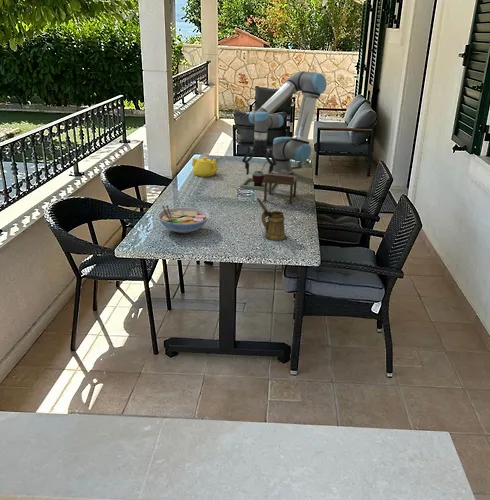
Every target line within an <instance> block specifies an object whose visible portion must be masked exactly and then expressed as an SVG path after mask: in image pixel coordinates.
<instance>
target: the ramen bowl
mask: <svg viewBox="0 0 490 500" xmlns="http://www.w3.org/2000/svg"><path fill="white" fill-rule="evenodd" d="M161 206H162V210H161V211H160V212H158V213H157V219H158V220H159V222H160V223H161V224H162V225H163V226H164V227H165V228H166V229H167V230H170V231H172V232H176V233H178V234H189V233H191V232H194V231H197V230H199V229H201V228H202V227H203V226H204V225H205V224H206V223H207V221H208V219H209V216H210V215H209V213H208V212H207V211H206V210H203V209H200V208H197V207H189V206H187V207H186V206H185V207H184V206H179V207H171V208H169V205H167V204H166V205H161Z"/></svg>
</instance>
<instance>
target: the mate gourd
mask: <svg viewBox="0 0 490 500" xmlns="http://www.w3.org/2000/svg"><path fill="white" fill-rule="evenodd" d="M267 163H269V162H268V161H267V160H266V162H264V163H263V165H262V167H261V170H256V171H253V173H252V177H251V178H252V179H253V181H252V182H253V186H257V187H263V183H264V182H263V180H264V174H265V173H264V171H263V170H264V168H265V166H266V164H267Z"/></svg>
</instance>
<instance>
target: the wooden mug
mask: <svg viewBox="0 0 490 500" xmlns="http://www.w3.org/2000/svg"><path fill="white" fill-rule="evenodd" d="M256 200H257V203H258V204H259V206H260V207H261V209H262V210H263V212H262V213H261V215H260V220H261V222H262V224H263V226H264V228H265V233H264V236H265V238H266V239H268V240H271V241H281V240H284V239H285V238H286V232H285V231H286V230H285V216H284V212H283V211H279V210H274V211H273V210H272V211H271V210H268V209H267V206H266V205H265V204H264V202H263V201H262V199H260V198H258V197H257V198H256ZM266 218H267V221H266Z"/></svg>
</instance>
